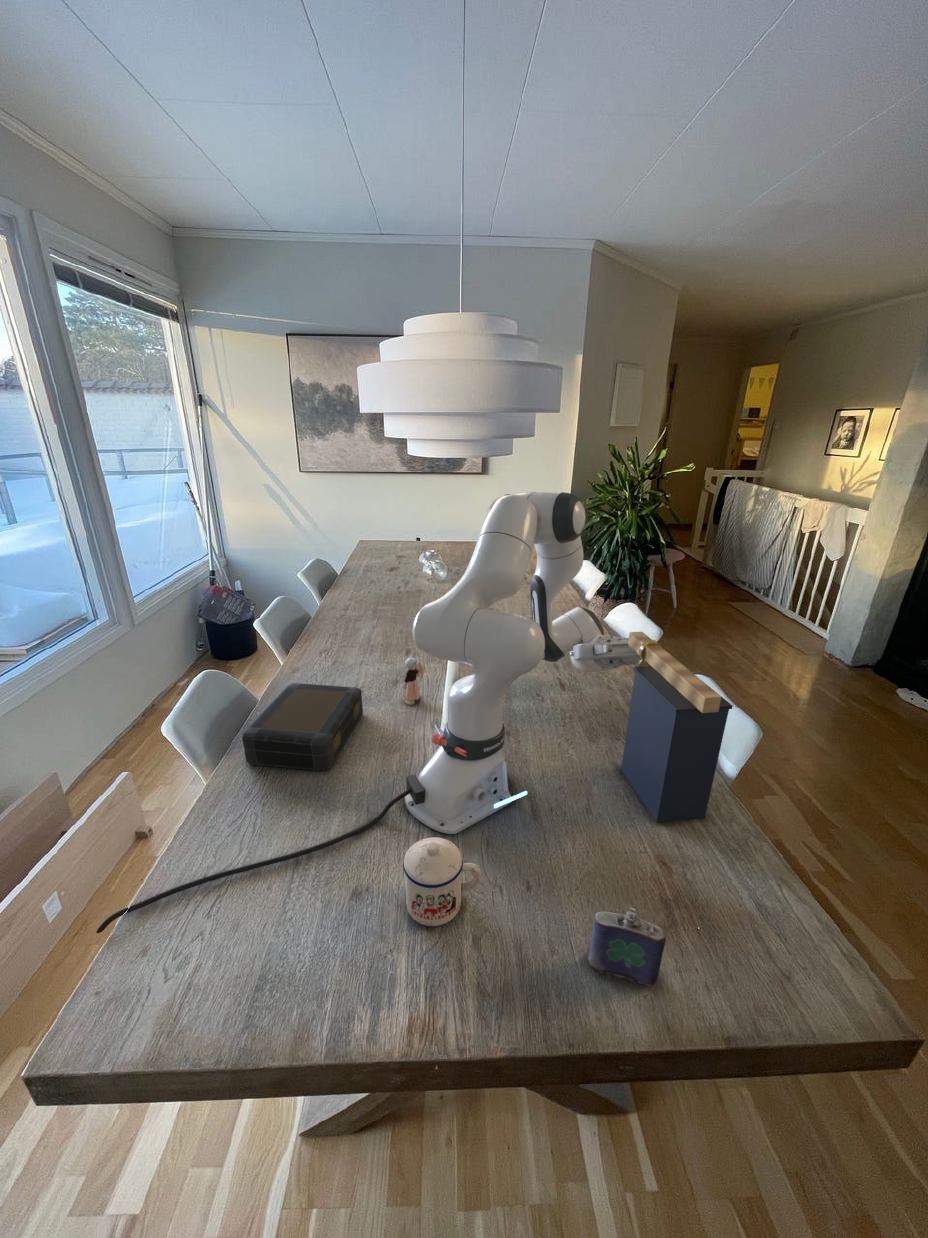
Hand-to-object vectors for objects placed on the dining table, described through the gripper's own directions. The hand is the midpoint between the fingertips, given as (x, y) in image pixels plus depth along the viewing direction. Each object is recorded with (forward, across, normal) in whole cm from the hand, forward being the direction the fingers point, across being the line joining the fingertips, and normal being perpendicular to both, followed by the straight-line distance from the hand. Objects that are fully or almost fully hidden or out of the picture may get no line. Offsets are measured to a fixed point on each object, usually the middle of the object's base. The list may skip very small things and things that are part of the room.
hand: (628, 647), depth 117 cm
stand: (+6, 0, +31) cm, 32 cm away
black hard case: (-20, -74, +16) cm, 79 cm away
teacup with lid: (+23, -47, +41) cm, 66 cm away
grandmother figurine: (-32, -48, +9) cm, 59 cm away
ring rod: (+15, 0, +7) cm, 17 cm away
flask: (+36, -23, +48) cm, 64 cm away
